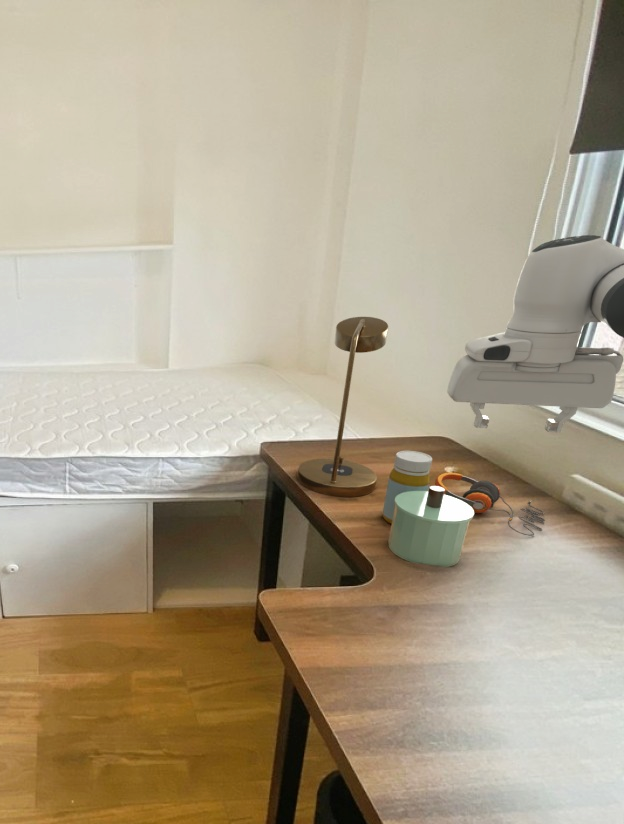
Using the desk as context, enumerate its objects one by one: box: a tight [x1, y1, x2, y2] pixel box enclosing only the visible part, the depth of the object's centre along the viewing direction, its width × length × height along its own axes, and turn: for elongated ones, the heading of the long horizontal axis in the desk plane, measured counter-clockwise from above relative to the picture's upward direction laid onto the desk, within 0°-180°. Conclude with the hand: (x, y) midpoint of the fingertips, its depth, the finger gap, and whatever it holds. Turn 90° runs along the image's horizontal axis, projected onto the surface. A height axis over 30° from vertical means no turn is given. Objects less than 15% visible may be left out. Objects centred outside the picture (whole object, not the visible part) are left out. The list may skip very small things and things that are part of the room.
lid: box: [394, 485, 475, 524], centre depth 103 cm, size 12×12×5 cm
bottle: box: [381, 450, 433, 525], centre depth 116 cm, size 7×7×15 cm
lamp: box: [296, 316, 389, 498], centre depth 134 cm, size 17×27×38 cm, turn 146°
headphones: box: [434, 472, 546, 537], centre depth 119 cm, size 17×5×20 cm
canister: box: [387, 505, 471, 568], centre depth 106 cm, size 11×11×10 cm
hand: (515, 429), depth 92 cm, fingers open, 8 cm apart
